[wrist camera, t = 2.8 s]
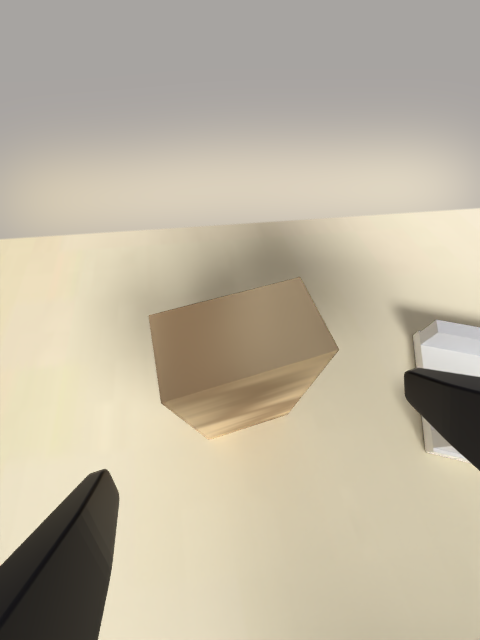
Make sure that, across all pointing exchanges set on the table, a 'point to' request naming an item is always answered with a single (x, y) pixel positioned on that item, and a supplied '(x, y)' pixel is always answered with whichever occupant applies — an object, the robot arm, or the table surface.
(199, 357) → the wooden block
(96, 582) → the robot arm
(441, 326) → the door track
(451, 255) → the table surface
